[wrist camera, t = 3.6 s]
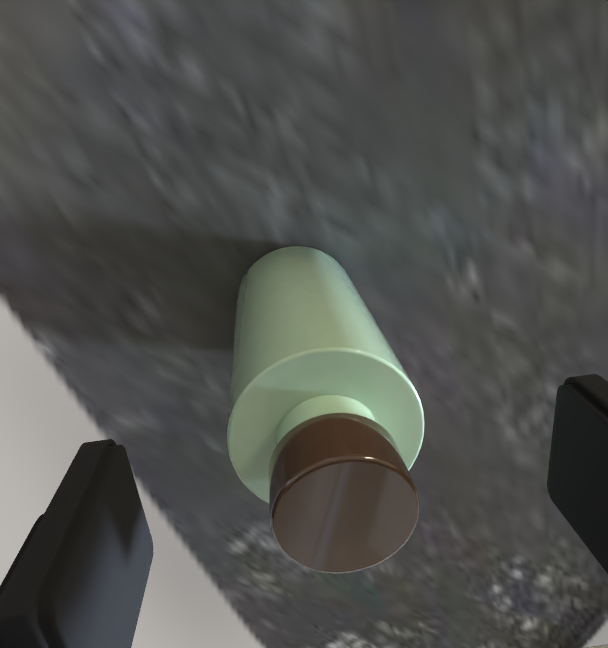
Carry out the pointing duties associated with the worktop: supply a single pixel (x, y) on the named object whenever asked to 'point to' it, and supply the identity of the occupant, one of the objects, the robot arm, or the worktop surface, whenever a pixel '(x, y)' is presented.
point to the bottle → (321, 415)
